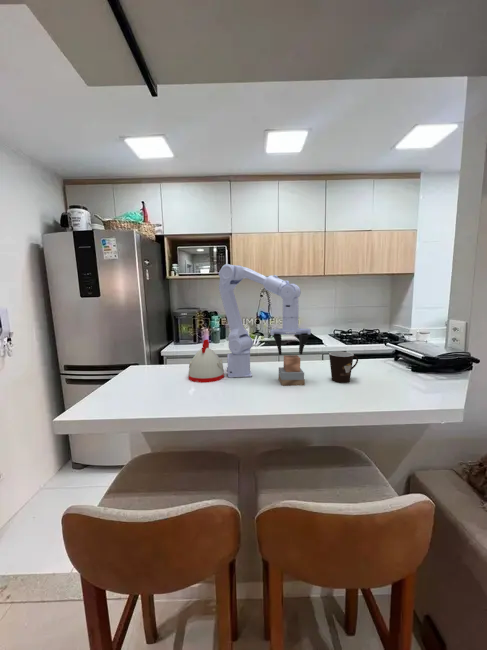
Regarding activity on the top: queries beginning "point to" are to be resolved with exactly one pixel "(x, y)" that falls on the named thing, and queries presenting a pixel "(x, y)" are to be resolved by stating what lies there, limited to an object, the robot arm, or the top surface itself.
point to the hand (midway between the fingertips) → (290, 354)
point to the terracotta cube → (291, 363)
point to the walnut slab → (291, 382)
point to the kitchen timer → (206, 366)
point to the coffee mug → (341, 366)
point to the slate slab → (290, 374)
